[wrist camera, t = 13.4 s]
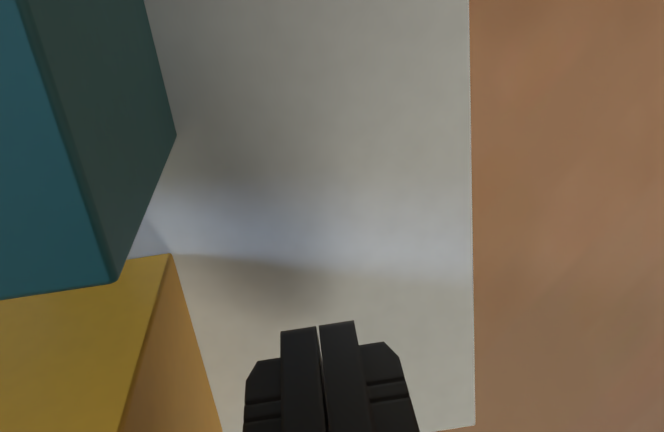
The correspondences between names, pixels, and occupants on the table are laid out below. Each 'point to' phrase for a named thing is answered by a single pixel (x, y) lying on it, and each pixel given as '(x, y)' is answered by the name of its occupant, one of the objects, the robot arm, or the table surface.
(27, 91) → the teal block
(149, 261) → the mustard block
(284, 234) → the desk mat
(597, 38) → the table surface
